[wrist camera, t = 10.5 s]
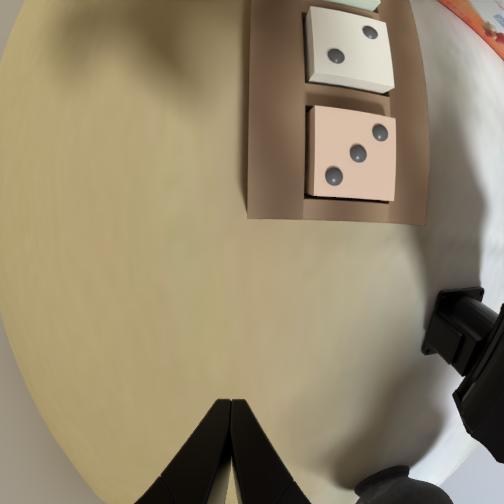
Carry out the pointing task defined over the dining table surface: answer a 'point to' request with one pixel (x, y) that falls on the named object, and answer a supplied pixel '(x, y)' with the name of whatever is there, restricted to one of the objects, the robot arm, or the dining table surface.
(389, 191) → the tile three
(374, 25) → the tile two
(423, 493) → the pitcher
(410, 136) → the frame board
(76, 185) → the dining table surface
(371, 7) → the tile one
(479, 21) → the cracker box
